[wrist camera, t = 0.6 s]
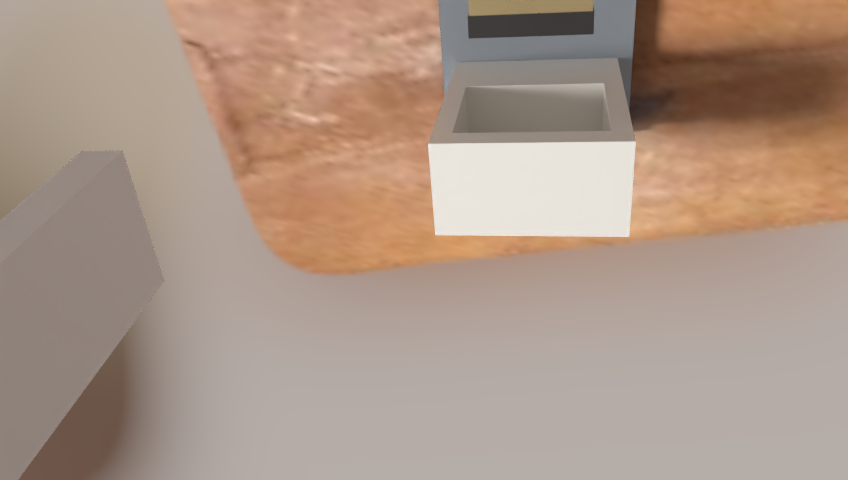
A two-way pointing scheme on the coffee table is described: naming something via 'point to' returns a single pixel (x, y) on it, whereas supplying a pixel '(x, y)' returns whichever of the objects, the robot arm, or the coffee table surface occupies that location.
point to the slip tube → (529, 18)
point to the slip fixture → (535, 130)
